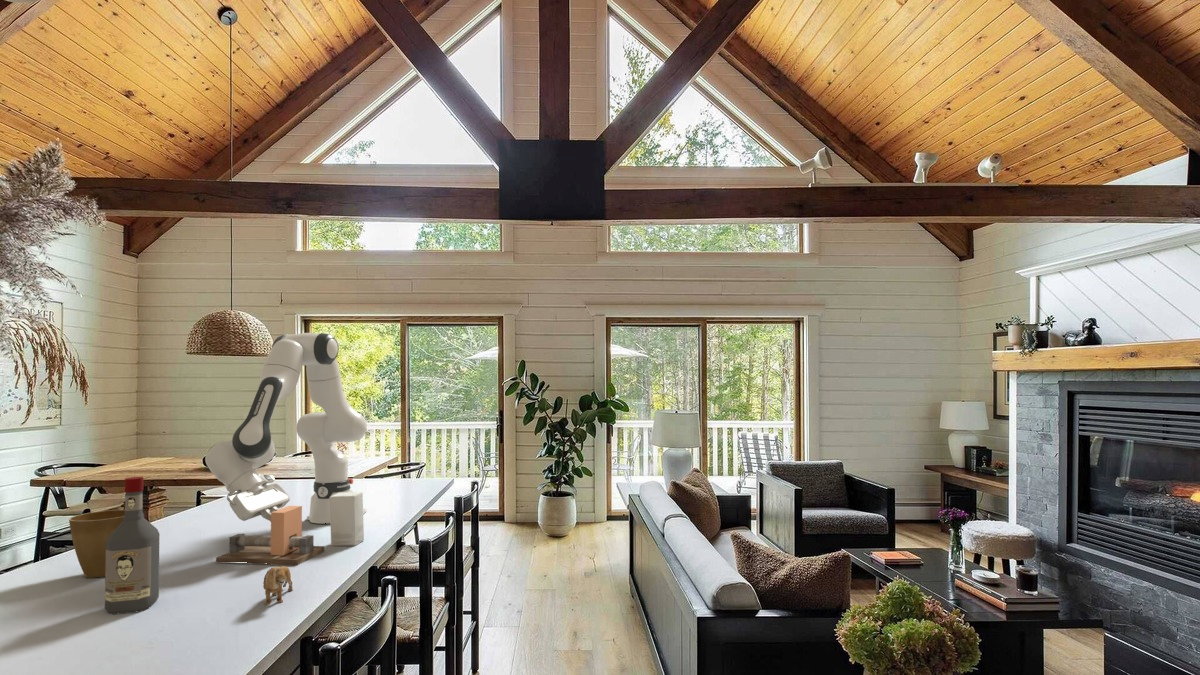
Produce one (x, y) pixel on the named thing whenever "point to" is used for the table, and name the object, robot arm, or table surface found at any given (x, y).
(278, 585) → the lion figurine
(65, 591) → the table surface
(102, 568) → the plant pot
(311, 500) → the robot arm
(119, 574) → the liquor
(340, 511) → the skincare box
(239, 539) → the pipe stand
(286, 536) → the notched orange block
